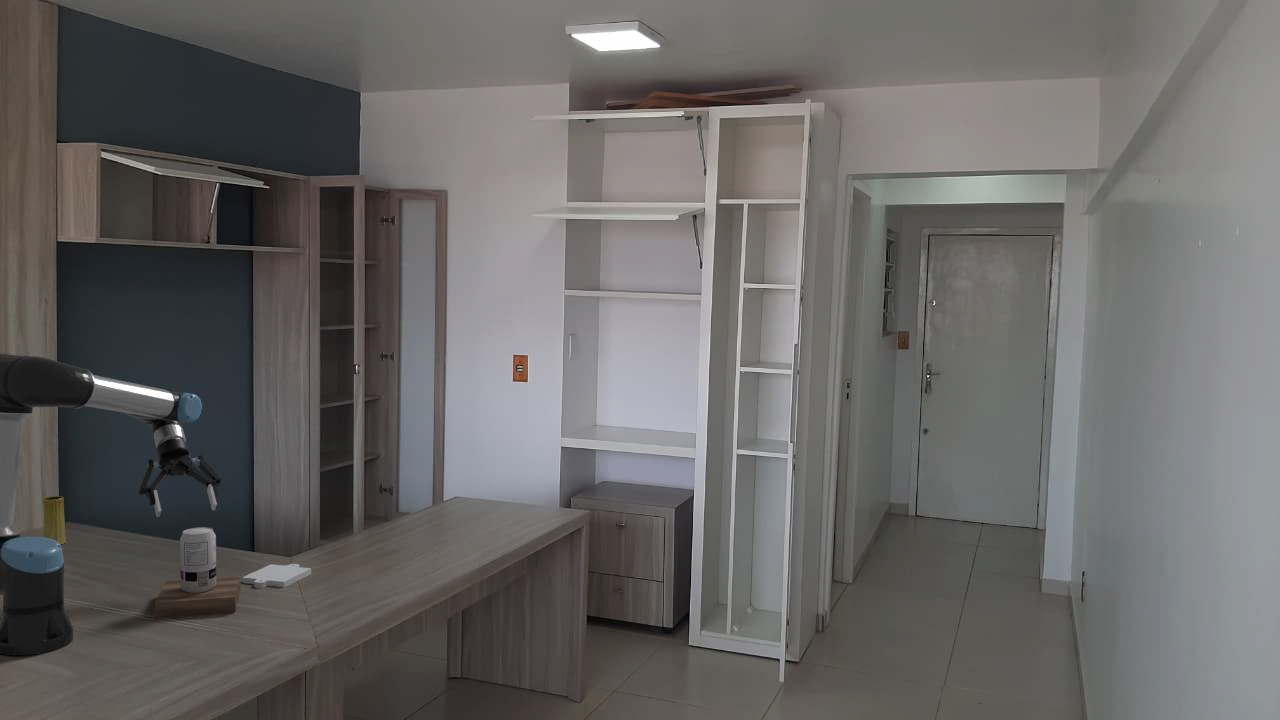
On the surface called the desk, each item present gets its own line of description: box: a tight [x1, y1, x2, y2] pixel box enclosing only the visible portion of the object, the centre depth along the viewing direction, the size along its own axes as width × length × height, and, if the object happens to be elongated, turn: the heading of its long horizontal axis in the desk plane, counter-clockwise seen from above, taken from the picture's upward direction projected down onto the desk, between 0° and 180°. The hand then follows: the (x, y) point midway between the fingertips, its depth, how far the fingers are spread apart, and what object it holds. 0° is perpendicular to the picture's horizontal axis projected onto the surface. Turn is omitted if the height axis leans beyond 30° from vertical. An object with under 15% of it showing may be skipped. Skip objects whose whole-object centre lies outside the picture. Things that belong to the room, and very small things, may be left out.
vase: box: [43, 495, 67, 546], centre depth 299 cm, size 6×6×14 cm
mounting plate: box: [241, 563, 312, 589], centre depth 271 cm, size 18×13×2 cm
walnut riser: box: [154, 575, 241, 619], centre depth 248 cm, size 18×18×4 cm
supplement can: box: [179, 526, 217, 593], centre depth 248 cm, size 8×8×15 cm
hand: (187, 510), depth 255 cm, fingers open, 13 cm apart
